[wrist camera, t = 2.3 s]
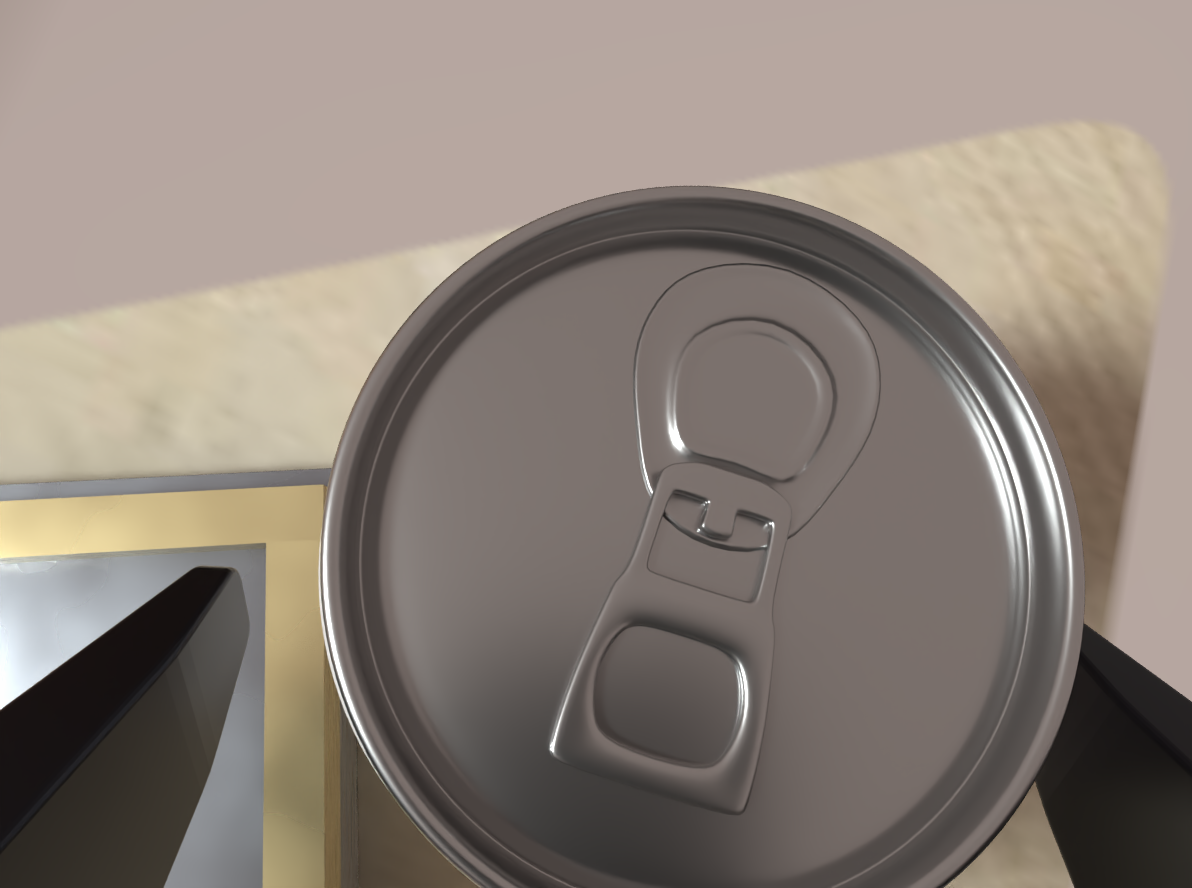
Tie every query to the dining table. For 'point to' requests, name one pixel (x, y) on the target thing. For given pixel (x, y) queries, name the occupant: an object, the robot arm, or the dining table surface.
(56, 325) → the dining table surface
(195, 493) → the gold square coaster
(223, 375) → the dining table surface
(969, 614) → the can
